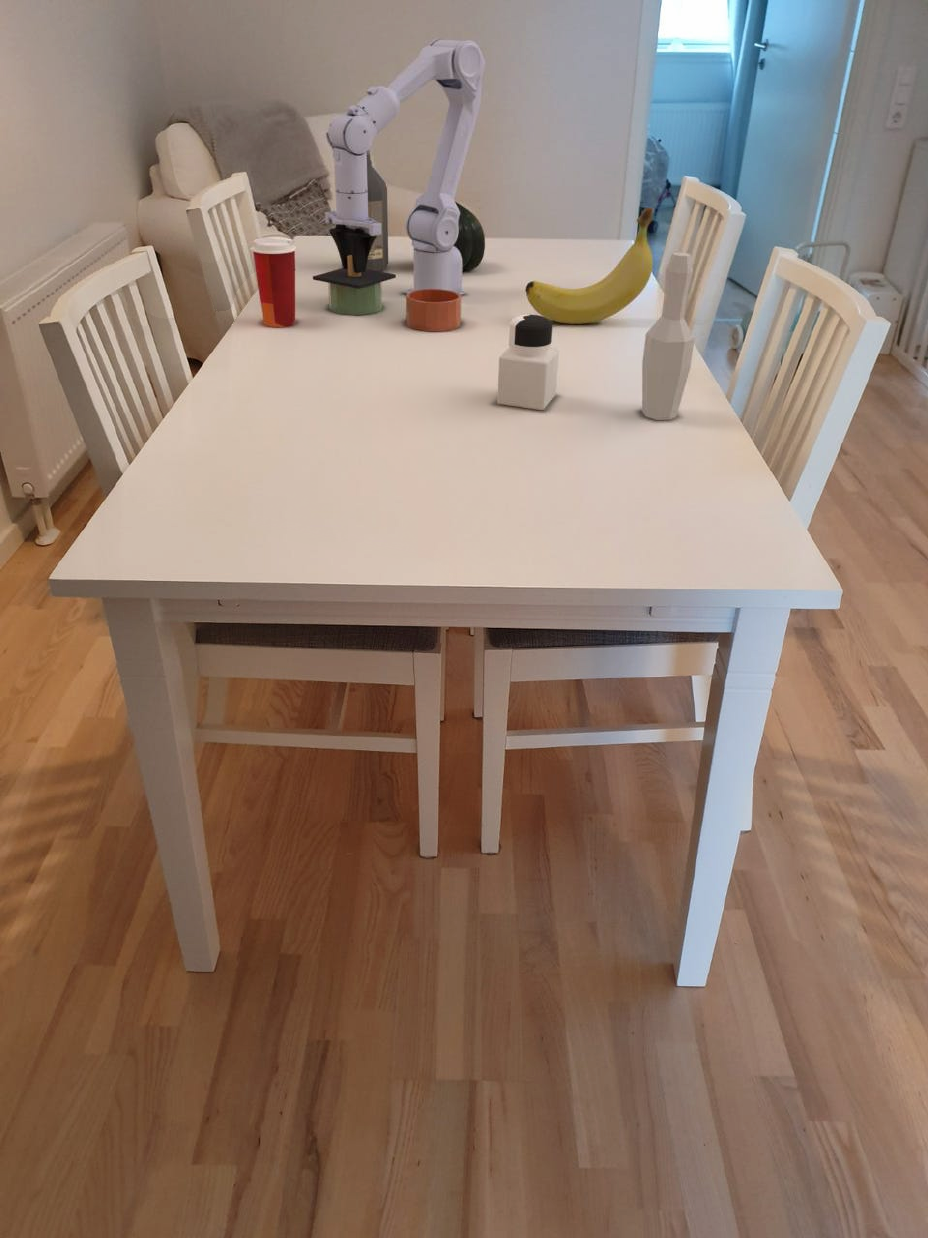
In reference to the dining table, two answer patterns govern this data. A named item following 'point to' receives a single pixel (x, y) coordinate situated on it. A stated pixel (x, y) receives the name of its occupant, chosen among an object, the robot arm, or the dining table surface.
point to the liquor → (377, 218)
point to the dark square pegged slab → (354, 276)
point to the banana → (598, 287)
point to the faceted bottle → (668, 345)
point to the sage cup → (355, 299)
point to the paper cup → (276, 279)
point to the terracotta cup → (433, 309)
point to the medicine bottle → (528, 364)
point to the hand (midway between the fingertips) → (354, 270)
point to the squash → (469, 239)
